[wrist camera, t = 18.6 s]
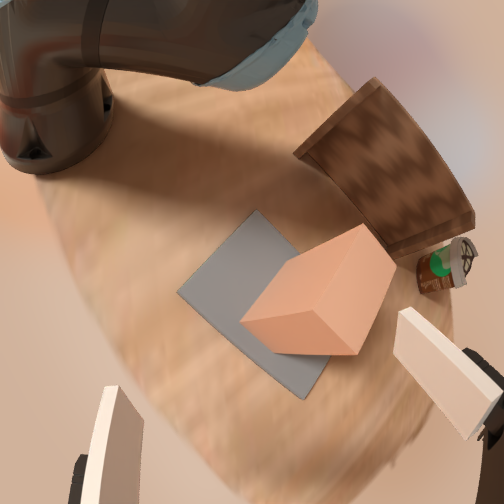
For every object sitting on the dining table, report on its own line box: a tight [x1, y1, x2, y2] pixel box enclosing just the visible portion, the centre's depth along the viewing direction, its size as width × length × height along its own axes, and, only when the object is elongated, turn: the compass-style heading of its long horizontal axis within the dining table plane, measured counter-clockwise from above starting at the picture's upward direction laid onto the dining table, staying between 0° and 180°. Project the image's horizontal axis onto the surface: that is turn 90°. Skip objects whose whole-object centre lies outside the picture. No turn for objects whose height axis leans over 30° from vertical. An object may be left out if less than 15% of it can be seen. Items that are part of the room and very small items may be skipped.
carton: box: [239, 223, 397, 355], centre depth 25 cm, size 5×9×12 cm, turn 141°
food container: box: [417, 237, 478, 294], centre depth 41 cm, size 12×6×10 cm, turn 122°
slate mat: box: [177, 209, 331, 400], centre depth 30 cm, size 18×13×1 cm
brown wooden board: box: [293, 77, 475, 260], centre depth 34 cm, size 22×4×16 cm, turn 51°
